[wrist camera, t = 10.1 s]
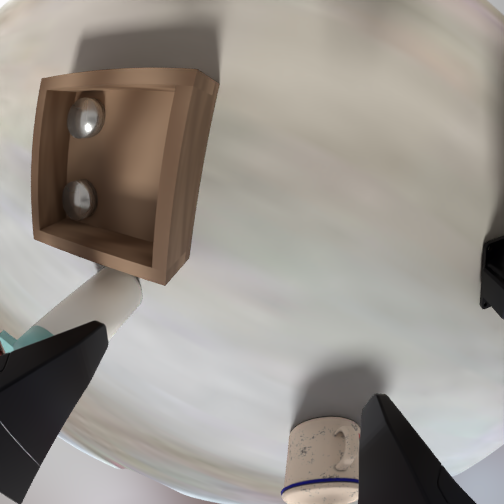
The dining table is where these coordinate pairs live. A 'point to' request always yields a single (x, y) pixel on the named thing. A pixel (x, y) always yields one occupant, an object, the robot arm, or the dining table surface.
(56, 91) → the brown wooden tray
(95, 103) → the silver metal disc
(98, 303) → the canister
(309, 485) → the teacup with lid
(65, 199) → the grey metal puck
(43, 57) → the dining table surface
